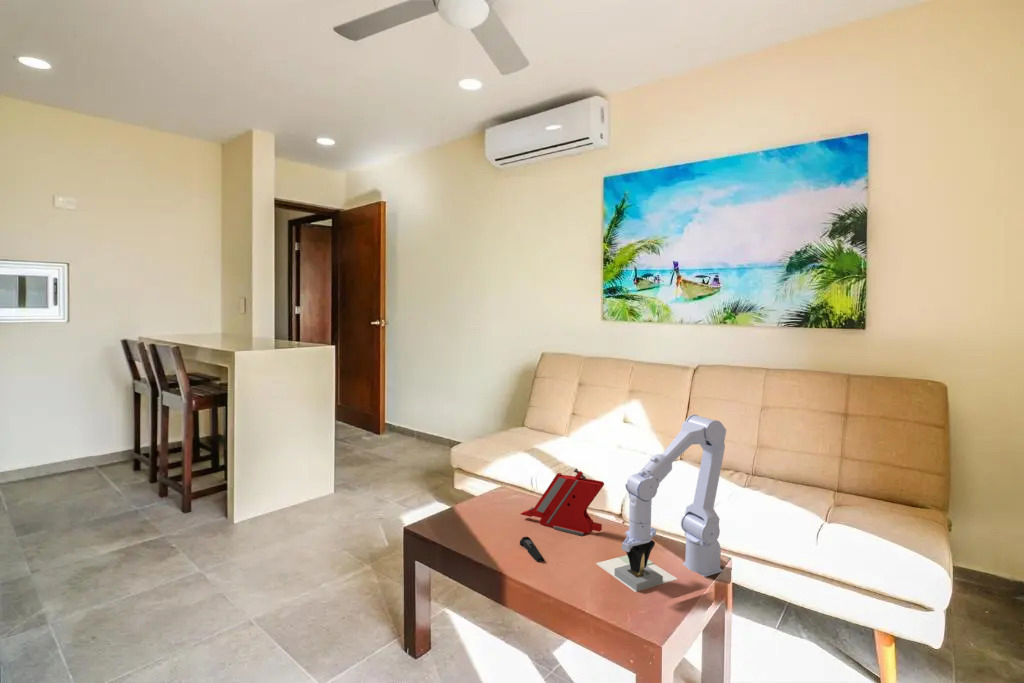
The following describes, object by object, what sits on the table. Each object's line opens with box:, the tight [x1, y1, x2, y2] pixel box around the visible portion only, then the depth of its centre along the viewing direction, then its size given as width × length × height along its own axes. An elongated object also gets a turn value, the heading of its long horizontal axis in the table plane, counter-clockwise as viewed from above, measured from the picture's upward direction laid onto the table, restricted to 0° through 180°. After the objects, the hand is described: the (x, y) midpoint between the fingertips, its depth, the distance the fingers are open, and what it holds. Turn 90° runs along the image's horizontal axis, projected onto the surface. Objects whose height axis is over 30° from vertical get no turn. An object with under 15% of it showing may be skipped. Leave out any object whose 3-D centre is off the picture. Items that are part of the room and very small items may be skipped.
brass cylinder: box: [633, 552, 645, 578], centre depth 141 cm, size 3×3×7 cm
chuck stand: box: [595, 554, 678, 593], centre depth 146 cm, size 15×17×3 cm
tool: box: [520, 467, 605, 537], centre depth 175 cm, size 27×6×27 cm, turn 64°
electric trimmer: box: [519, 536, 545, 563], centre depth 158 cm, size 4×15×3 cm, turn 17°
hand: (638, 568), depth 142 cm, fingers closed on brass cylinder, 3 cm apart
